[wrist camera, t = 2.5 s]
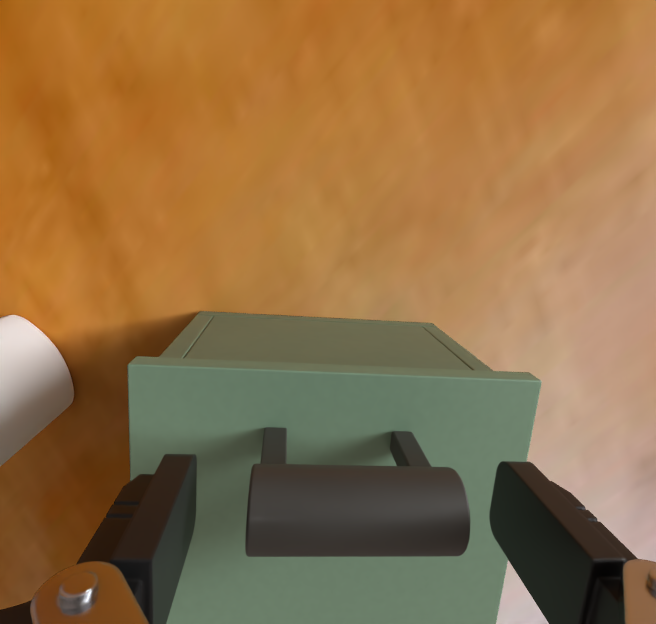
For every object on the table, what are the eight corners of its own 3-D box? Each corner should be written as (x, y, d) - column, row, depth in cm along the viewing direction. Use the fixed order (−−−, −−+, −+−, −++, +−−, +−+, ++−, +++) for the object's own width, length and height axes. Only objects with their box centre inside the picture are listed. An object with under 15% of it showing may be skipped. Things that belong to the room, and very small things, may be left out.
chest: (199, 310, 23) (136, 379, 14) (432, 322, 25) (524, 393, 15) (196, 549, 27) (144, 740, 17) (403, 549, 28) (464, 727, 18)
